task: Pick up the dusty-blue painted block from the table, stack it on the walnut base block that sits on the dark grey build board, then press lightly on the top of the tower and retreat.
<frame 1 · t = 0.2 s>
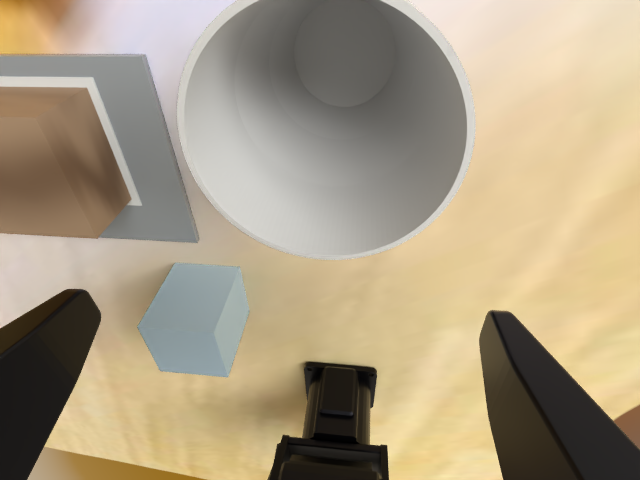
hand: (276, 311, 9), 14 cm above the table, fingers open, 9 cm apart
cup: (344, 53, 19), on the table
blue block: (214, 287, 30), on the table
walnut base: (56, 147, 23), resting on build board
build board: (83, 158, 24), on the table
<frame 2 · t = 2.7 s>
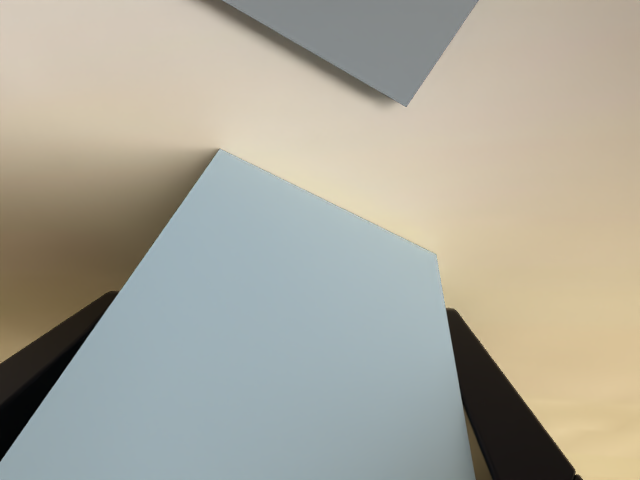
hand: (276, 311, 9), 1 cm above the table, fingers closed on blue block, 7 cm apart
blue block: (286, 278, 9), on the table, touching gripper
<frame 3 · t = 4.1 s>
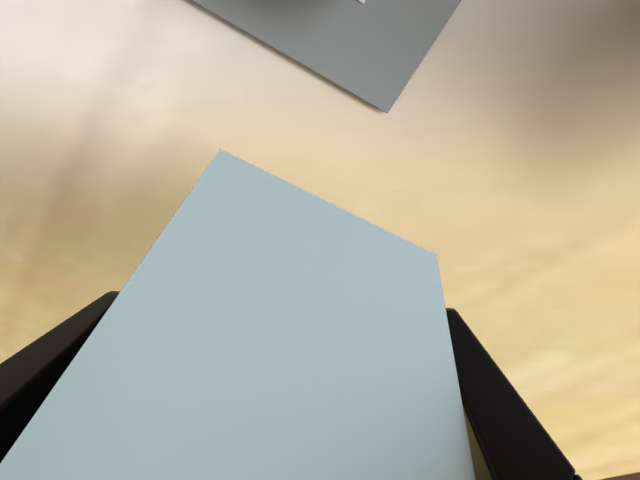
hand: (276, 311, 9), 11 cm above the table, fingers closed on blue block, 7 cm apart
blue block: (287, 278, 9), point 10 cm above the table, touching gripper
when the fingers open (7 cm above the table, at t = 6.0 s): blue block drops 1 cm, resting on walnut base.
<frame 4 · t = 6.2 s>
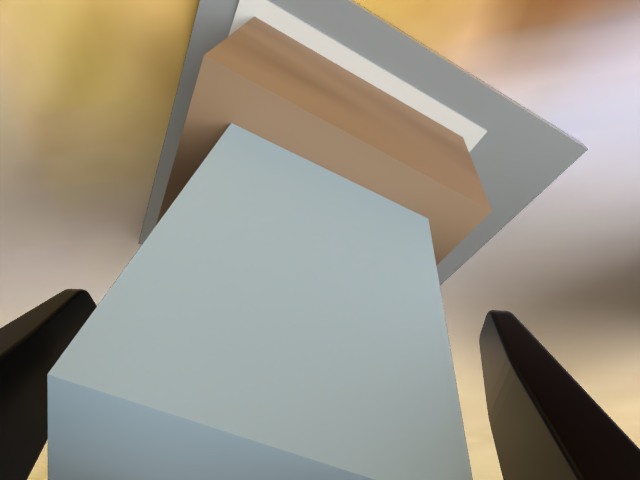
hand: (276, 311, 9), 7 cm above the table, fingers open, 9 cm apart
blue block: (292, 245, 10), point 4 cm above the table, touching walnut base
walnut base: (312, 172, 13), resting on build board, touching blue block
build board: (326, 198, 15), on the table
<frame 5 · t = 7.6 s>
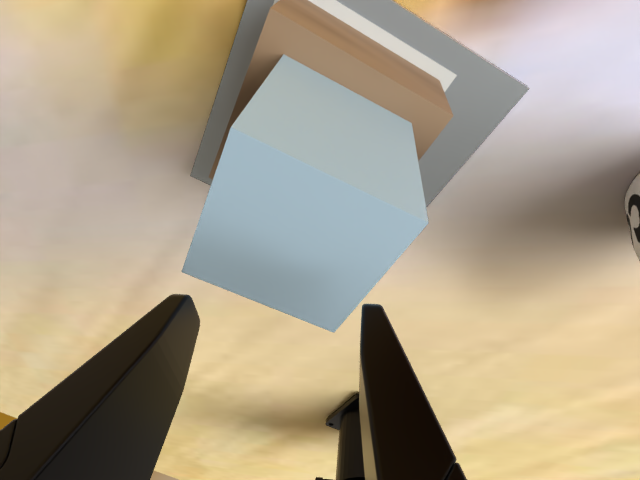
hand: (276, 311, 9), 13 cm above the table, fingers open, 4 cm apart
blue block: (319, 148, 15), point 4 cm above the table, touching walnut base
walnut base: (329, 110, 18), resting on build board, touching blue block
build board: (338, 134, 19), on the table
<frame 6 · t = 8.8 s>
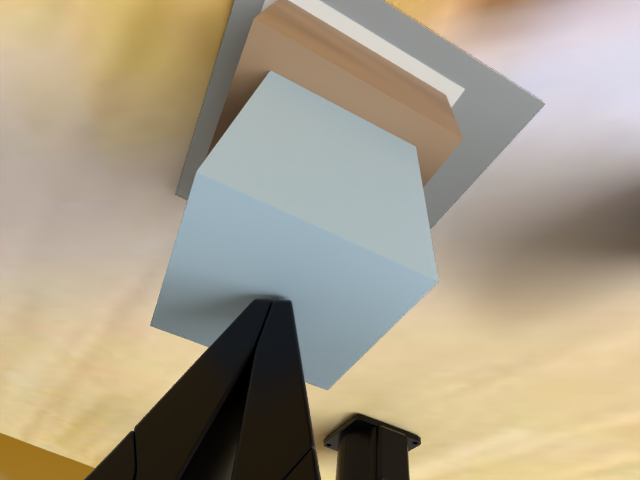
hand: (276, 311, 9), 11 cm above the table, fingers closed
blue block: (312, 173, 13), point 4 cm above the table, touching walnut base
walnut base: (324, 127, 16), resting on build board, touching blue block
build board: (335, 151, 18), on the table
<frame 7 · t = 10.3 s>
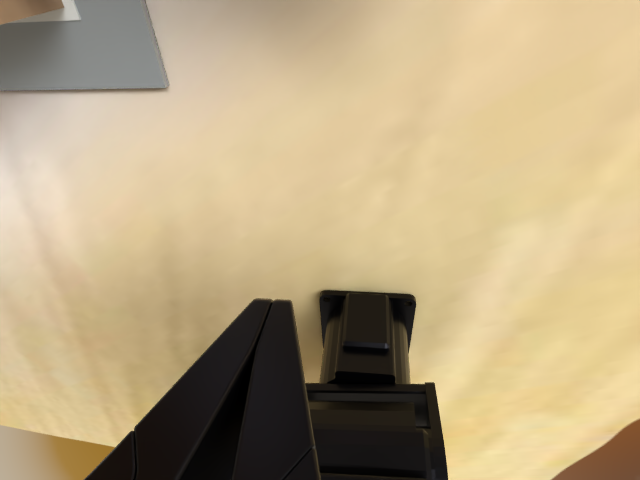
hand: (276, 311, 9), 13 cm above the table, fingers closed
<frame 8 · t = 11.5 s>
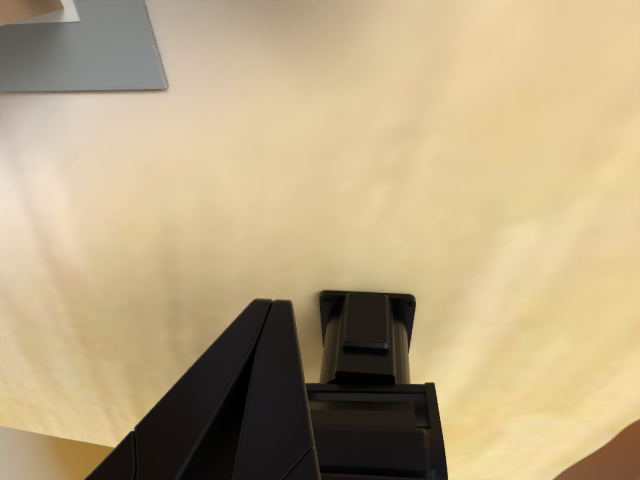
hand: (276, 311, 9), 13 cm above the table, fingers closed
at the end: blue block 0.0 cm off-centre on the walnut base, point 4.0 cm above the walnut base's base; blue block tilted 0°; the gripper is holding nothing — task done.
